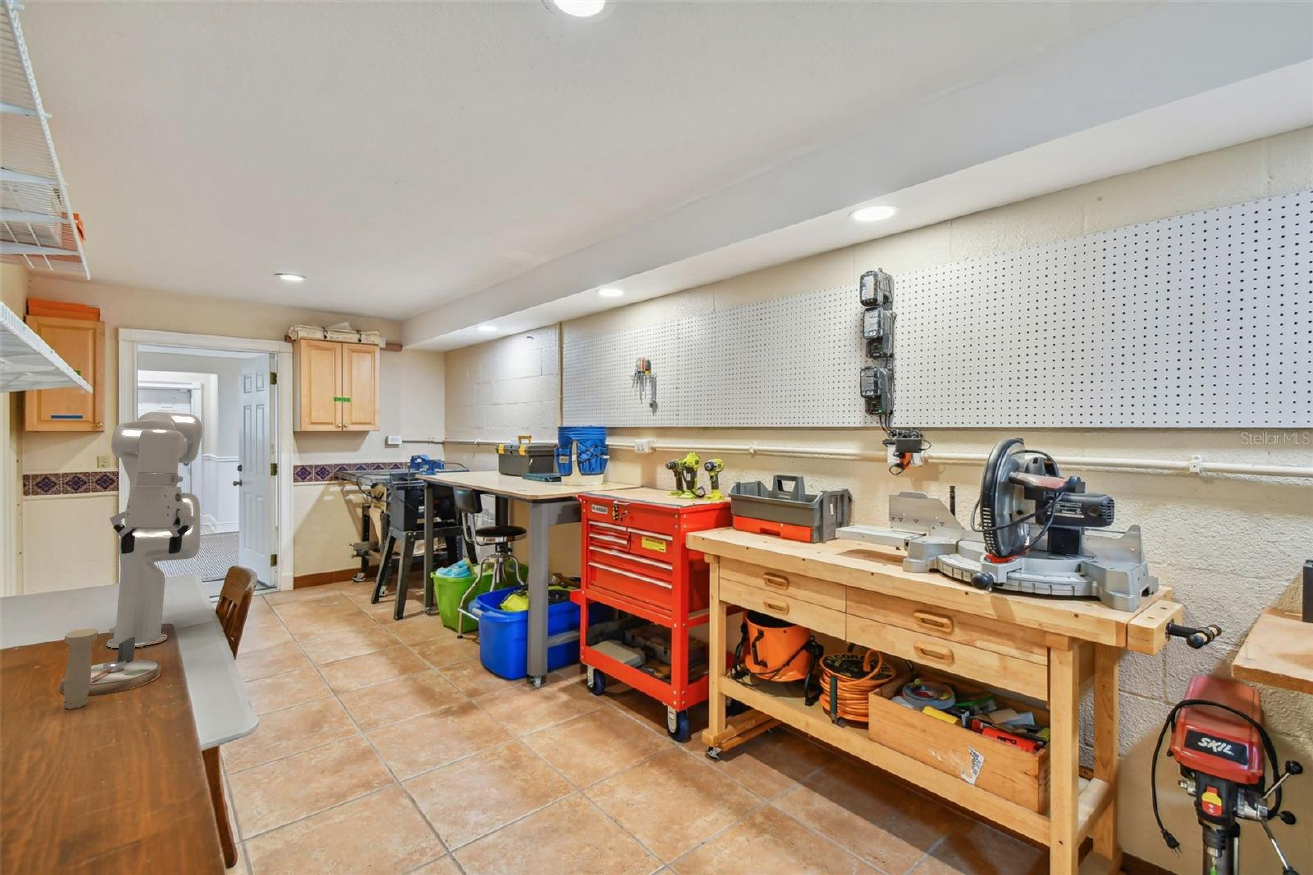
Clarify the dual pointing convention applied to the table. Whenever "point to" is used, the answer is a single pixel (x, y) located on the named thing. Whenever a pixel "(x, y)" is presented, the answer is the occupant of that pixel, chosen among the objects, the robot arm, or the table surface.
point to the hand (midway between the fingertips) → (150, 553)
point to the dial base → (121, 677)
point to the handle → (78, 667)
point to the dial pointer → (119, 658)
